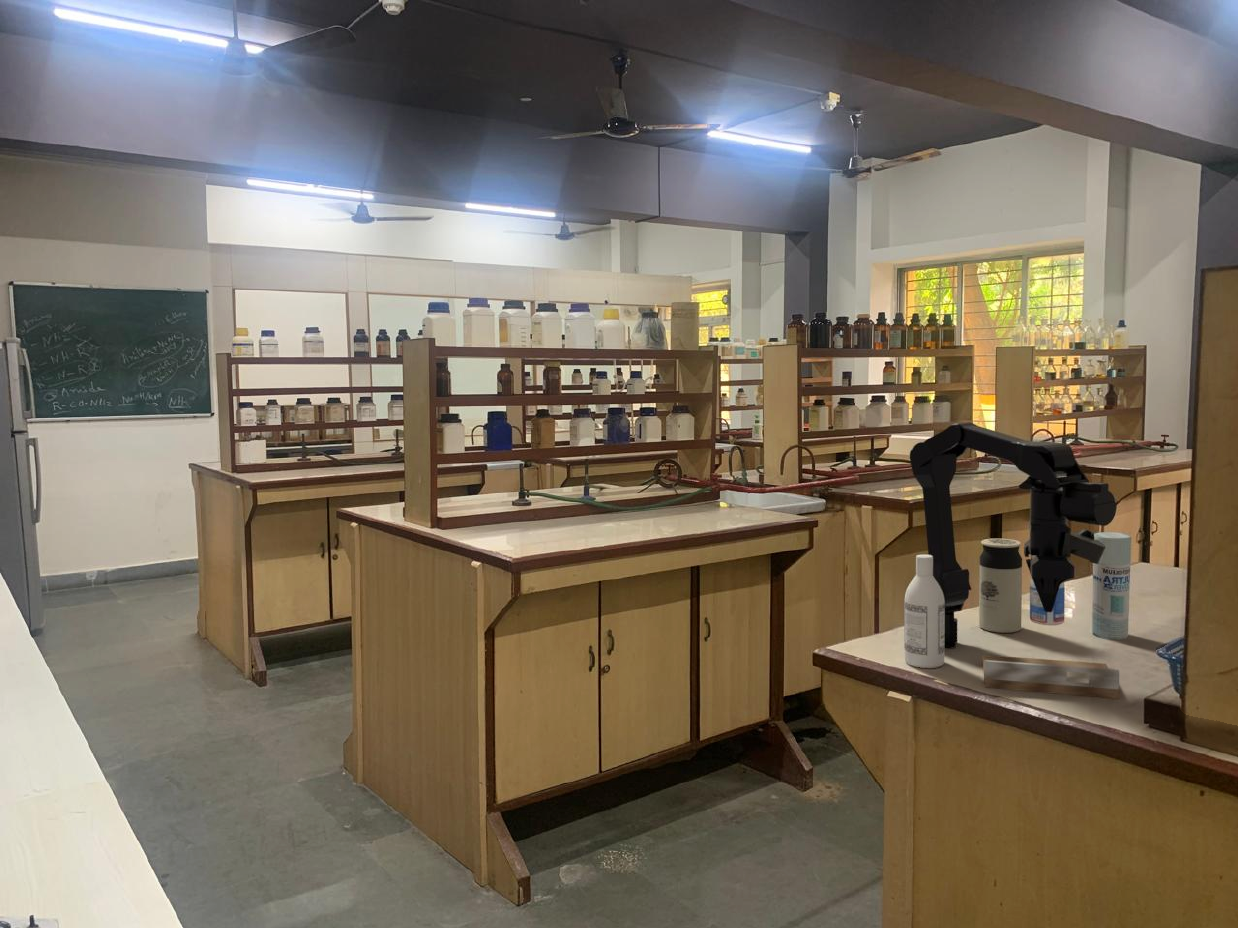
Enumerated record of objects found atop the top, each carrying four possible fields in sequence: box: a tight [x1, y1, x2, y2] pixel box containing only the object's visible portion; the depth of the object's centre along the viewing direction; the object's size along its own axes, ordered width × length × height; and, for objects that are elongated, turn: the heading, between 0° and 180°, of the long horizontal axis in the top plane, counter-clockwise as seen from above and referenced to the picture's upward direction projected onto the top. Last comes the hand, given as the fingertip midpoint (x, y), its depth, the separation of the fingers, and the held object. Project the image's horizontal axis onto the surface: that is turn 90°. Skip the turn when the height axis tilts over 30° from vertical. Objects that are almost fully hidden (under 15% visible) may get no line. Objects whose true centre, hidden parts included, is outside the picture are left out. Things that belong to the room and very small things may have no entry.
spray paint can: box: [1091, 531, 1132, 640], centre depth 177 cm, size 6×6×20 cm
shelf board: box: [982, 654, 1120, 699], centre depth 155 cm, size 20×13×4 cm, turn 70°
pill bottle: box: [1029, 577, 1066, 626], centre depth 155 cm, size 6×5×10 cm
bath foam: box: [903, 554, 946, 669], centre depth 165 cm, size 7×7×20 cm
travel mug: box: [978, 538, 1023, 634], centre depth 184 cm, size 8×8×18 cm
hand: (1046, 607), depth 155 cm, fingers closed on pill bottle, 5 cm apart
